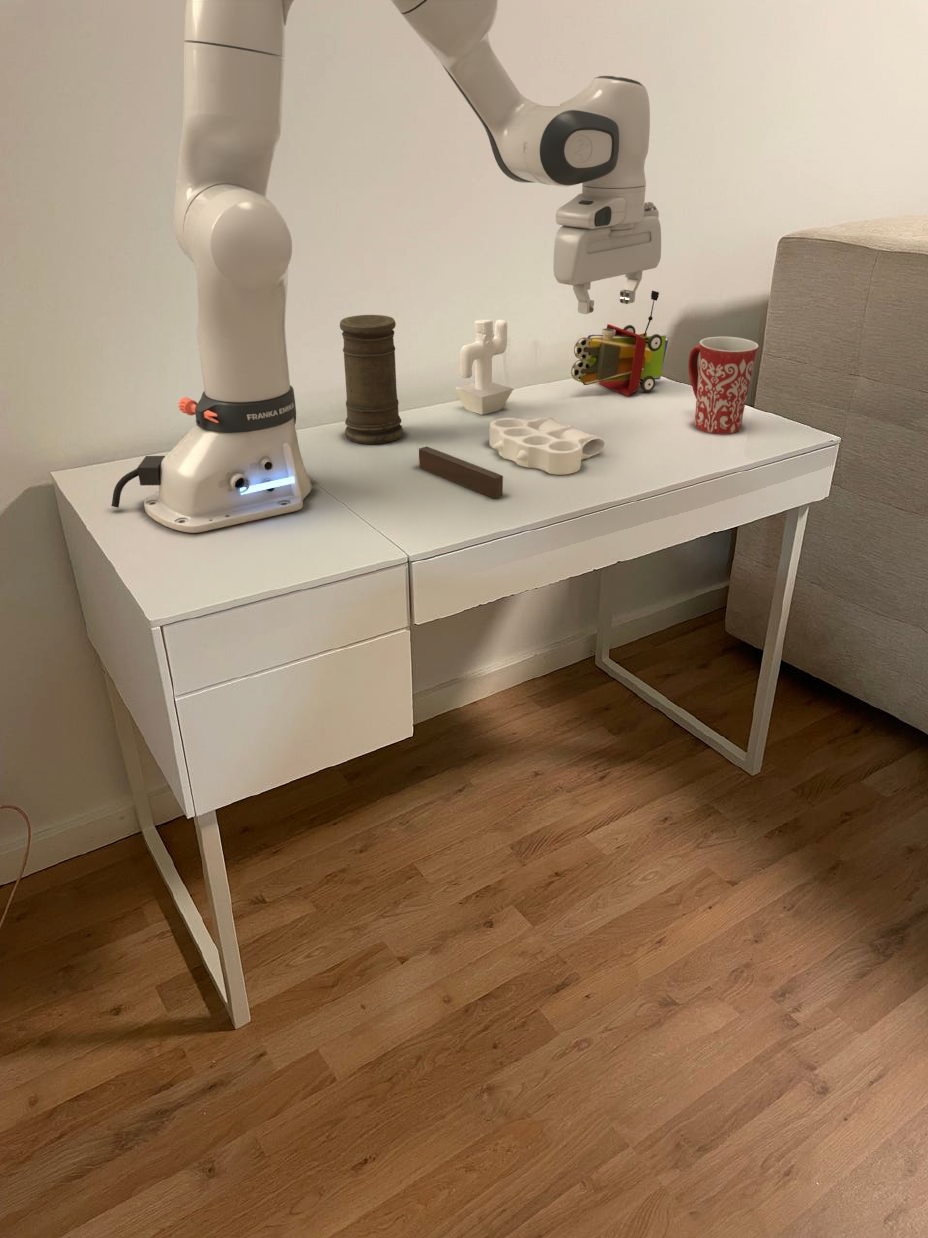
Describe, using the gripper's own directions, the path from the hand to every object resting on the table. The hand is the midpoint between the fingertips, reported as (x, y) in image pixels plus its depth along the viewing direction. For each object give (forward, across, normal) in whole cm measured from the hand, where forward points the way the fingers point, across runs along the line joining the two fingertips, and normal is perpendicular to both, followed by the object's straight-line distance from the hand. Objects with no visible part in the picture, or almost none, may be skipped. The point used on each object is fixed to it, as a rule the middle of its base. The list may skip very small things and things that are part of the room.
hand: (606, 307), depth 144 cm
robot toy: (+20, -22, -14) cm, 33 cm away
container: (+20, +26, -24) cm, 41 cm away
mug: (+20, -18, +9) cm, 28 cm away
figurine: (+20, +4, -22) cm, 30 cm away
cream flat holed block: (+20, +13, 0) cm, 24 cm away
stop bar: (+20, +29, 0) cm, 35 cm away
